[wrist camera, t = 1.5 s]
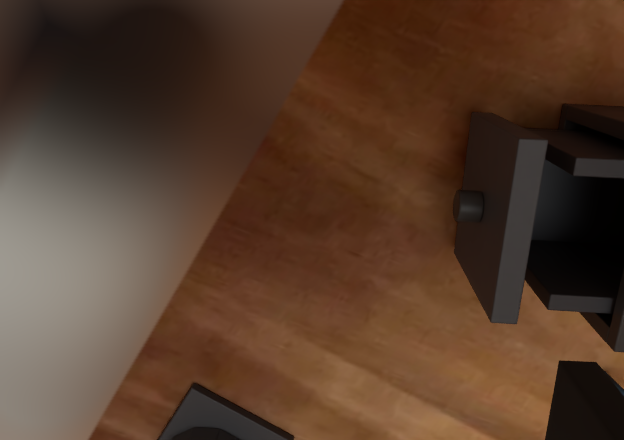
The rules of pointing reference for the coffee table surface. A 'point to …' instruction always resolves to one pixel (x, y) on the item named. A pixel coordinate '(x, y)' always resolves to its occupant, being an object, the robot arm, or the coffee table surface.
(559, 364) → the robot arm
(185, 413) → the block
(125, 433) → the coffee table surface
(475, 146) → the pulled-out drawer
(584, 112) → the dark grey drawer box
